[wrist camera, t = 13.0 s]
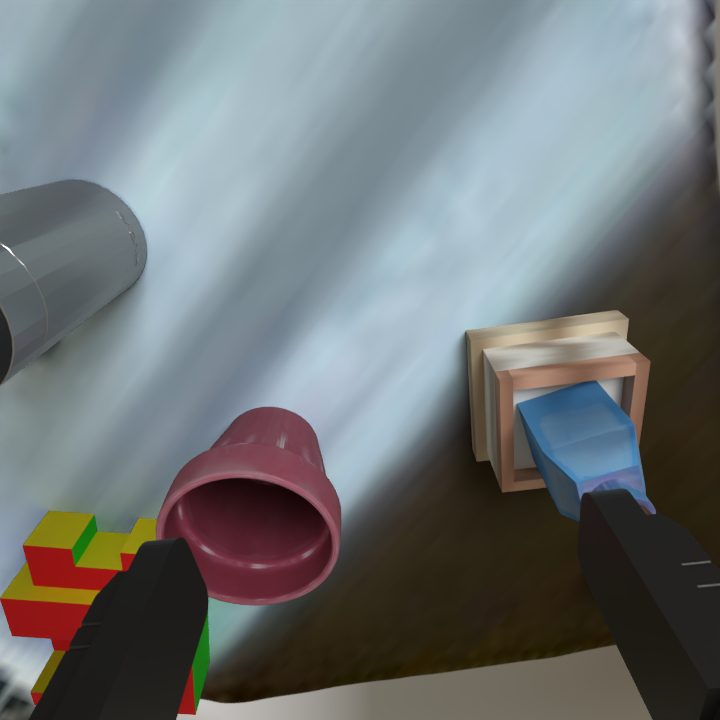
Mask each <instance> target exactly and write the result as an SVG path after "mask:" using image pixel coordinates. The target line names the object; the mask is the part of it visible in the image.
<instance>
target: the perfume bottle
mask: <svg viewBox="0 0 720 720" xmlns="http://www.w3.org/2000/svg"><path fill="white" fill-rule="evenodd" d="M517 406H518V410H519V413H520V417H521V420H522V423H523V427H524V430H525V433H526V437H527V440H528V444H529V447H530V450H531V454H532V457H533V460H534V462H535V464H536V466H537V468H538V470H539V472H540V474H541V476H542V478H543V480H544V482H545V484H546V486H547V488H548V490H549V492H550V494H551V496H552V498H553V500H554V502H555V504H556V506H557V508H558V510H559V512H560V514H562V515H565V516H567V517H570V518H572V519H574V520H577V521H579V520H580V507H581V497H582V495H583V493H586V492H595V491H603V490H612V489H621V488H624V489H627V490H628V491H629V492H630V493H631V494H632V495H633V497H634V498H635V499H636V501H637V502H638V504H639V505H640V506H641V508H642V509H643V511H644V512H645V513H646V515H650V514H656V511H655V509H654V506H653V505H652V503H651V502H650V501H649V499H648V498H647V497H646V489H645V483H644V477H643V471H642V466H641V460H640V454H639V448H638V442H637V436H636V430H635V425H634V423H633V422H632V420H631V419H630V418H629V417H628V416H627V415H626V414H625V413H624V411H623V410H622V409H621V408H620V407H619V406H618V405H617V404H616V402H615V401H614V400H613V399H612V398H611V397H610V396H609V395H608V393H607V392H606V391H605V390H604V389H603V388H602V387H601V385H600V384H599V383H598V382H597V381H596V380H594V381H586V382H582V383H579V384H576V385H573V386H570V387H567V388H563V389H560V390H557V391H554V392H551V393H548V394H545V395H542V396H539V397H536V398H532V399H529V400H526V401H523V402H520V403H517Z"/></svg>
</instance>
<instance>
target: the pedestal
mask: <svg viewBox="0 0 720 720" xmlns="http://www.w3.org/2000/svg"><path fill="white" fill-rule="evenodd" d="M628 321H629V319H628V318H627V317H626V316H624V315H623V314H622V313H620V312H619V311H618V310H614V311H607V312H600V313H592V314H585V315H578V316H570V317H563V318H556V319H548V320H541V321H534V322H527V323H519V324H512V325H505V326H497V327H490V328H483V329H475V330H468V331H466V341H467V359H468V377H469V396H470V414H471V432H472V449H473V452H474V455H475V458H476V461H477V462H479V461H487V460H490V462H491V464H492V467H493V470H494V472H495V475H496V477H497V480H498V483H499V485H500V488H501V491H502V492H511V491H520V490H528V489H537V488H546V487H547V486H546V484H545V482H544V480H543V478H542V476H541V474H540V472H539V470H538V468H537V466H536V464H535V462H534V460H533V457H532V454H531V450H530V447H529V444H528V440H527V437H526V433H525V430H524V427H523V423H522V420H521V417H520V413H519V410H518V406H517V403H520V402H523V401H526V400H529V399H532V398H536V397H539V396H542V395H545V394H548V393H551V392H554V391H557V390H560V389H563V388H567V387H570V386H573V385H576V384H579V383H582V382H586V381H594V380H596V381H597V382H598V383H599V384H600V385H601V387H602V388H603V389H604V390H605V391H606V392H607V393H608V395H609V396H610V397H611V398H612V399H613V400H614V401H615V402H616V404H617V405H618V406H619V407H620V408H621V409H622V410H623V411H624V413H625V414H626V415H627V416H628V417H629V418H630V419H631V420H632V422H633V423H634V425H635V430H636V436H637V442H638V448H639V442H640V435H641V428H642V420H643V413H644V406H645V398H646V391H647V384H648V376H649V369H650V361H649V360H648V359H647V358H646V357H645V356H643V355H642V354H641V353H640V352H639V351H637V350H636V349H635V348H634V347H633V346H632V345H630V344H629V343H628V342H627V341H626V339H627V330H628Z"/></svg>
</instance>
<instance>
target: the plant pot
mask: <svg viewBox="0 0 720 720" xmlns="http://www.w3.org/2000/svg"><path fill="white" fill-rule="evenodd" d="M340 536H341V506H340V502H339V498H338V495H337V493H336V491H335V489H334V487H333V485H332V484H331V482H330V480H329V479H328V478H327V477H326V473H325V468H324V464H323V460H322V455H321V452H320V448H319V444H318V440H317V436H316V434H315V432H314V430H313V428H312V427H311V426H310V424H309V423H308V422H307V421H306V420H304V419H303V418H302V417H301V416H299V415H297V414H296V413H293V412H291V411H289V410H286V409H283V408H278V407H261V408H255V409H252V410H249V411H247V412H245V413H243V414H242V415H240V416H239V417H238V418H236V419H235V420H234V421H233V423H232V424H231V425H230V426H229V428H228V429H227V430H226V431H225V432H224V433H223V434H222V436H221V437H220V438H219V439H218V440H217V441H216V442H215V443H214V445H213V446H212V447H211V448H210V449H209V450H208V451H205V452H203V453H202V454H200V455H198V456H196V457H195V458H193V459H192V460H191V461H189V462H188V463H187V464H186V465H185V466H184V467H183V468H182V469H181V470H180V472H179V473H178V474H177V476H176V477H175V479H174V481H173V483H172V485H171V487H170V489H169V491H168V493H167V496H166V498H165V500H164V503H163V505H162V508H161V510H160V513H159V515H158V519H157V523H156V540H162V539H170V538H179V537H182V538H184V539H185V540H186V541H187V543H188V545H189V547H190V549H191V551H192V554H193V556H194V558H195V561H196V563H197V565H198V568H199V570H200V572H201V575H202V577H203V579H204V582H205V584H206V587H207V591H208V596H209V597H211V598H214V599H217V600H220V601H224V602H228V603H233V604H240V605H269V604H276V603H281V602H286V601H289V600H292V599H295V598H298V597H300V596H302V595H304V594H306V593H308V592H310V591H312V590H313V589H315V588H316V587H317V586H319V585H320V584H321V583H322V582H323V581H324V580H325V579H326V578H327V576H328V575H329V574H330V572H331V571H332V569H333V567H334V565H335V563H336V561H337V558H338V553H339V547H340Z"/></svg>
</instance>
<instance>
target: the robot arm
mask: <svg viewBox="0 0 720 720" xmlns="http://www.w3.org/2000/svg"><path fill="white" fill-rule="evenodd" d="M146 257H147V250H146V241H145V237H144V232H143V230H142V228H141V226H140V223H139V221H138V219H137V218H136V216H135V215H134V214H133V212H132V211H131V209H130V208H129V207H128V206H127V205H126V204H125V203H124V202H123V201H122V200H121V199H120V198H119V197H118V196H116V195H115V194H113V193H112V192H111V191H109V190H108V189H105V188H103V187H101V186H99V185H97V184H95V183H91V182H87V181H83V180H64V181H58V182H54V183H49V184H45V185H41V186H36V187H31V188H27V189H22V190H18V191H14V192H9V193H5V194H1V195H0V386H1V385H2V384H4V383H5V382H6V381H8V380H9V379H10V378H12V377H13V376H14V375H15V374H17V373H18V372H19V371H21V370H22V369H23V368H25V367H26V366H27V365H28V364H29V363H31V362H32V361H33V360H35V359H36V358H37V357H38V356H40V355H41V354H42V353H44V352H45V351H46V350H48V349H49V348H50V347H52V346H53V345H54V344H55V343H57V342H58V341H59V340H61V339H62V338H63V337H65V336H66V335H67V334H69V333H70V332H71V331H72V330H74V329H75V328H76V327H78V326H79V325H80V324H82V323H83V322H84V321H86V320H87V319H88V318H89V317H91V316H92V315H93V314H95V313H96V312H97V311H99V310H100V309H101V308H103V307H104V306H105V305H106V304H108V303H109V302H111V301H112V300H113V299H114V298H116V297H117V296H118V295H120V294H121V293H122V292H124V291H125V290H126V289H127V288H129V287H130V286H131V285H133V284H134V283H135V281H136V280H137V279H138V278H139V277H140V275H141V273H142V271H143V269H144V267H145V262H146ZM578 558H579V563H580V567H581V570H582V573H583V576H584V579H585V581H586V583H587V585H588V587H589V589H590V591H591V593H592V596H593V598H594V600H595V602H596V604H597V606H598V608H599V610H600V612H601V614H602V616H603V618H604V620H605V622H606V624H607V627H608V629H609V631H610V633H611V635H612V637H613V639H614V641H615V643H616V645H617V647H618V649H619V651H620V653H621V655H622V657H623V660H624V662H625V664H626V666H627V668H628V670H629V672H630V674H631V676H632V678H633V680H634V682H635V684H636V686H637V688H638V690H639V692H640V695H641V697H642V699H643V701H644V703H645V705H646V707H647V709H648V711H649V713H650V715H651V717H652V719H653V720H720V571H719V569H718V568H717V567H716V565H715V564H712V563H711V561H710V558H709V557H708V555H707V554H706V553H705V551H704V550H703V549H702V548H701V546H700V545H699V544H698V543H697V541H696V540H695V539H694V538H693V536H692V535H691V534H690V533H689V532H688V531H686V530H685V529H683V528H682V527H681V526H679V525H678V524H676V523H675V522H674V521H672V520H671V519H669V518H668V517H666V516H665V515H664V514H662V513H659V514H650V515H646V513H645V512H644V511H643V509H642V508H641V506H640V505H639V504H638V502H637V501H636V499H635V498H634V497H633V495H632V494H631V493H630V492H629V491H628V490H627V489H624V488H621V489H612V490H603V491H595V492H586V493H583V495H582V497H581V507H580V520H579V533H578ZM207 612H208V591H207V587H206V584H205V582H204V579H203V577H202V575H201V572H200V570H199V568H198V565H197V563H196V561H195V558H194V556H193V554H192V551H191V549H190V547H189V545H188V543H187V541H186V540H185V539H184V538H182V537H179V538H170V539H162V540H153V541H146V542H144V543H143V544H142V545H141V546H140V547H139V549H138V551H137V553H136V555H135V557H134V559H133V561H132V563H131V565H130V567H129V569H128V570H127V571H119V572H117V573H116V575H115V576H114V577H113V578H112V579H111V580H110V581H109V582H108V583H107V584H106V585H105V586H104V587H103V588H102V590H101V591H100V592H99V593H98V594H97V595H96V596H95V598H94V600H93V602H92V604H91V606H90V607H89V609H88V611H87V613H86V615H85V617H84V618H83V620H82V622H81V623H82V626H81V628H78V630H77V631H76V633H75V635H74V637H73V639H72V641H71V642H70V644H69V650H68V651H66V652H65V654H64V655H63V657H62V659H61V661H60V663H59V665H58V666H57V668H56V670H55V672H54V674H53V676H52V678H51V679H50V681H49V683H48V685H47V687H46V689H45V690H44V692H43V694H42V696H41V698H40V700H39V702H38V703H37V705H36V707H35V709H34V711H33V713H32V714H31V716H30V718H29V720H176V717H177V714H178V711H179V708H180V704H181V701H182V698H183V694H184V691H185V688H186V684H187V681H188V678H189V674H190V671H191V668H192V664H193V661H194V658H195V654H196V651H197V648H198V644H199V641H200V638H201V634H202V631H203V628H204V624H205V621H206V617H207Z"/></svg>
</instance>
